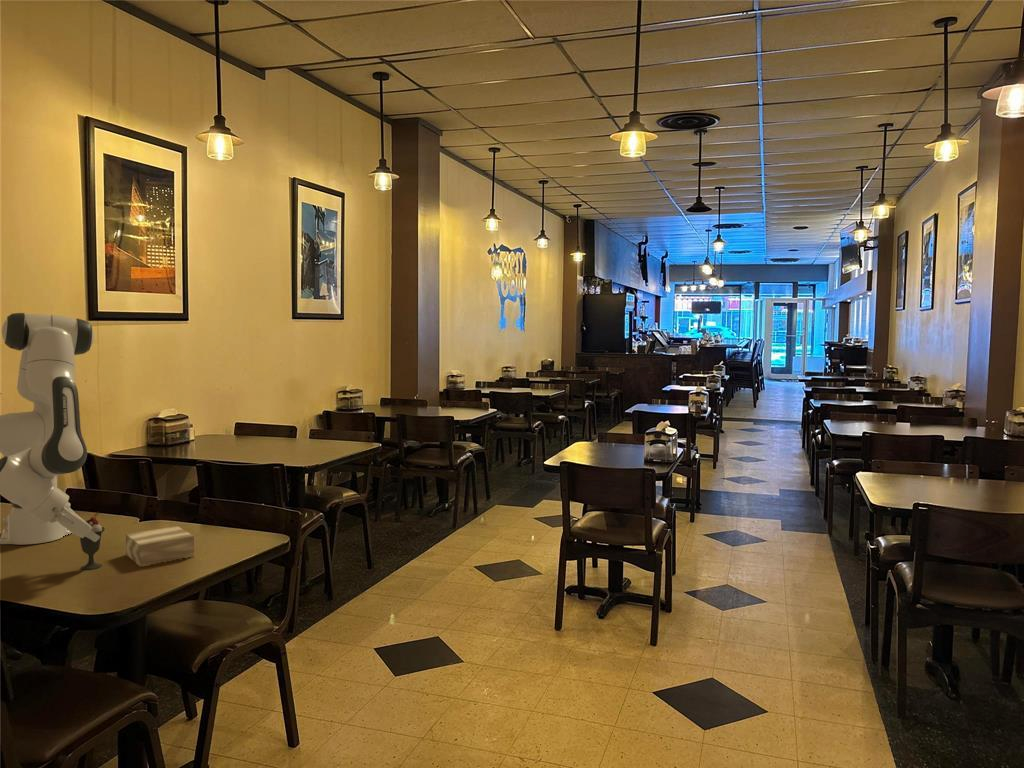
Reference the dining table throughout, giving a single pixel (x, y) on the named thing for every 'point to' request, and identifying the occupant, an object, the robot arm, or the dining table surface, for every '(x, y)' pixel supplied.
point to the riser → (159, 545)
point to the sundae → (92, 544)
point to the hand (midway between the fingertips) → (93, 536)
